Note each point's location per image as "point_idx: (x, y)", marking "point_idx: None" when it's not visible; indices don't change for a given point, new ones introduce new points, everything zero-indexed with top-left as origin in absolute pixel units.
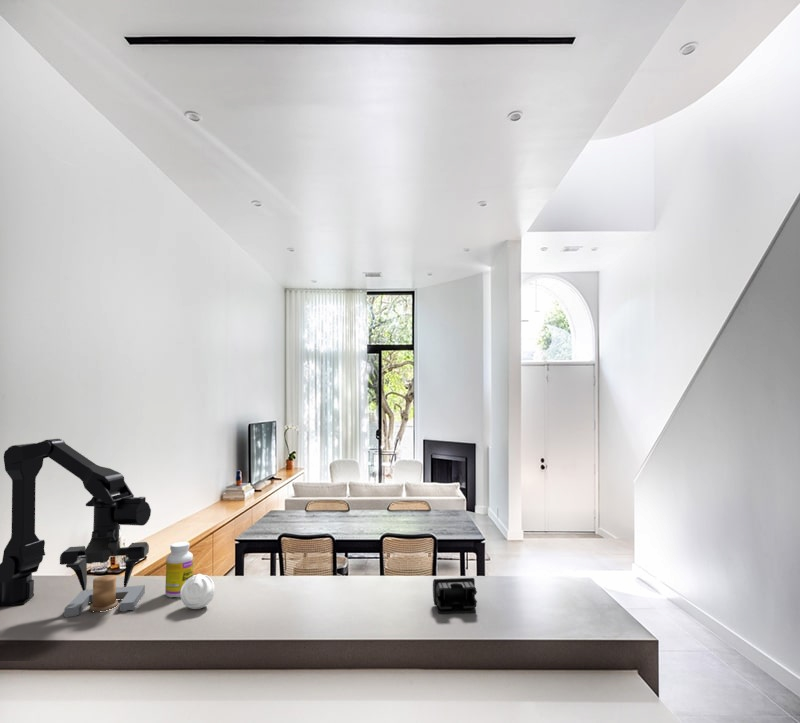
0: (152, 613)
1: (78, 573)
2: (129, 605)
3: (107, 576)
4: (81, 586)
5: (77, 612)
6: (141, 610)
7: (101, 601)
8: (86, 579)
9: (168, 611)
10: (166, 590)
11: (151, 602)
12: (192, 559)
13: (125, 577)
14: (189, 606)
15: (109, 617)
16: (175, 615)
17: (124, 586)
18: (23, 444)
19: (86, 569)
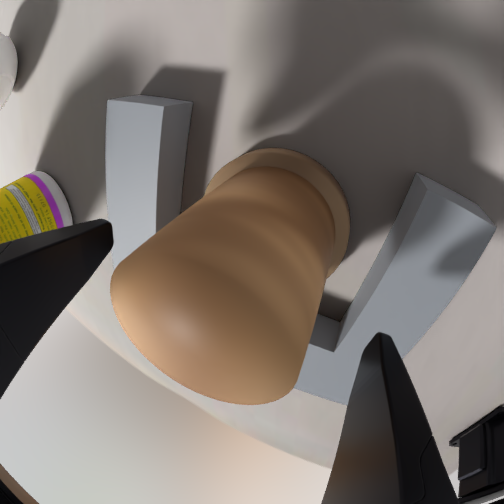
0: (83, 42)
1: (430, 483)
2: (134, 100)
3: (185, 373)
4: (402, 362)
5: (425, 180)
6: (112, 86)
7: (273, 180)
8: (347, 420)
9: (51, 53)
10: (50, 207)
11: (95, 169)
12: None
13: (45, 241)
14: (8, 36)
15: (240, 39)
16: (43, 17)
17: (105, 221)
18: None
19: (325, 499)
